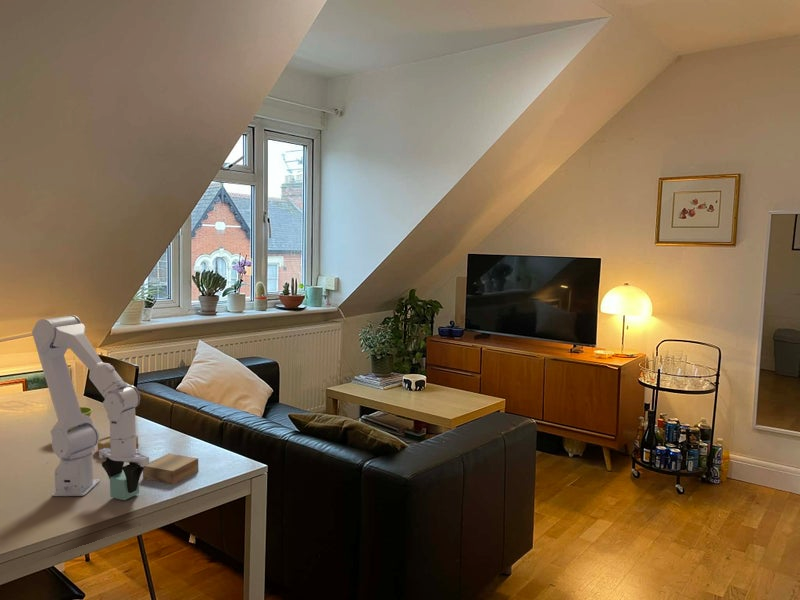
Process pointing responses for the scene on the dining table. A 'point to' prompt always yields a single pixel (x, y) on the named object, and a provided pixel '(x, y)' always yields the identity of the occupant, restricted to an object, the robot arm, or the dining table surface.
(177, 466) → the walnut box
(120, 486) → the teal block
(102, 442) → the alarm clock
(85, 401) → the dining table surface
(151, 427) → the dining table surface
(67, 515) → the dining table surface
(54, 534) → the dining table surface
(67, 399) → the robot arm
